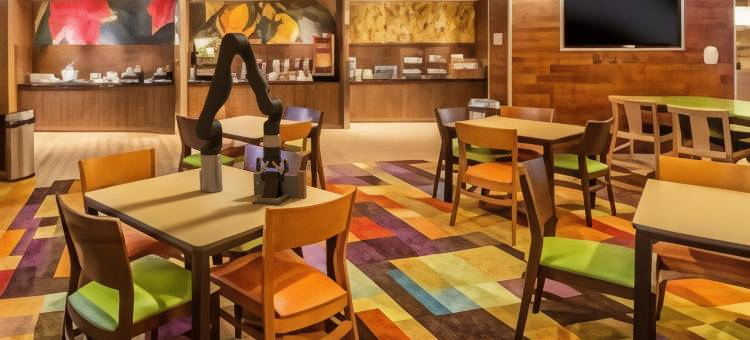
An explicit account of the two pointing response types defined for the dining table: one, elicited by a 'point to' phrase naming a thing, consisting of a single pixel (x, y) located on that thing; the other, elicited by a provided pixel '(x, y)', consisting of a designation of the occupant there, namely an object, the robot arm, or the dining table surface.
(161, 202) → the dining table surface
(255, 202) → the stopper pocket
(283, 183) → the dark grey panel
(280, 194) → the phone stand
